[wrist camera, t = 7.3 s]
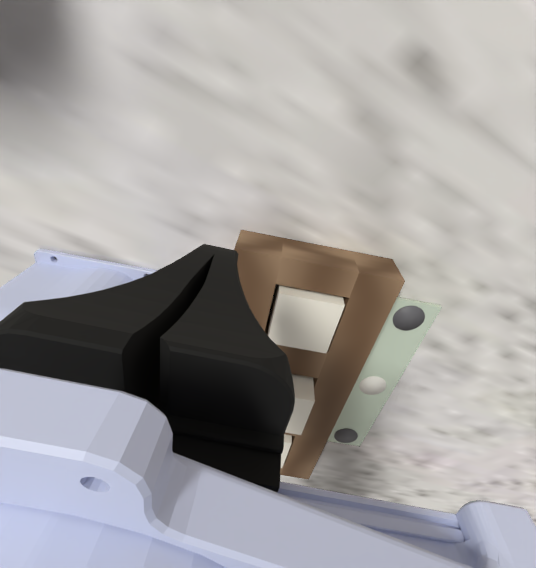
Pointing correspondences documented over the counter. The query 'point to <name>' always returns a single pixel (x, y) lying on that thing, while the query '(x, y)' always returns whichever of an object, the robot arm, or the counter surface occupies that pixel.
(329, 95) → the counter surface
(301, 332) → the white square block
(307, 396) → the button middle
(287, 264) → the brown flat rectangular frame
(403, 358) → the pattern card
